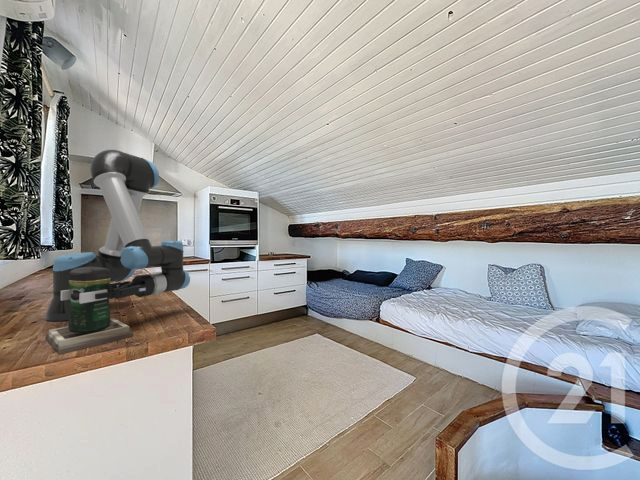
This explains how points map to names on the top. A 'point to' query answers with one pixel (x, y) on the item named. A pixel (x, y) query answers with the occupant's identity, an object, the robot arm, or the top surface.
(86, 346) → the board
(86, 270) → the coffee jar
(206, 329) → the top surface
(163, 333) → the top surface
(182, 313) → the top surface
